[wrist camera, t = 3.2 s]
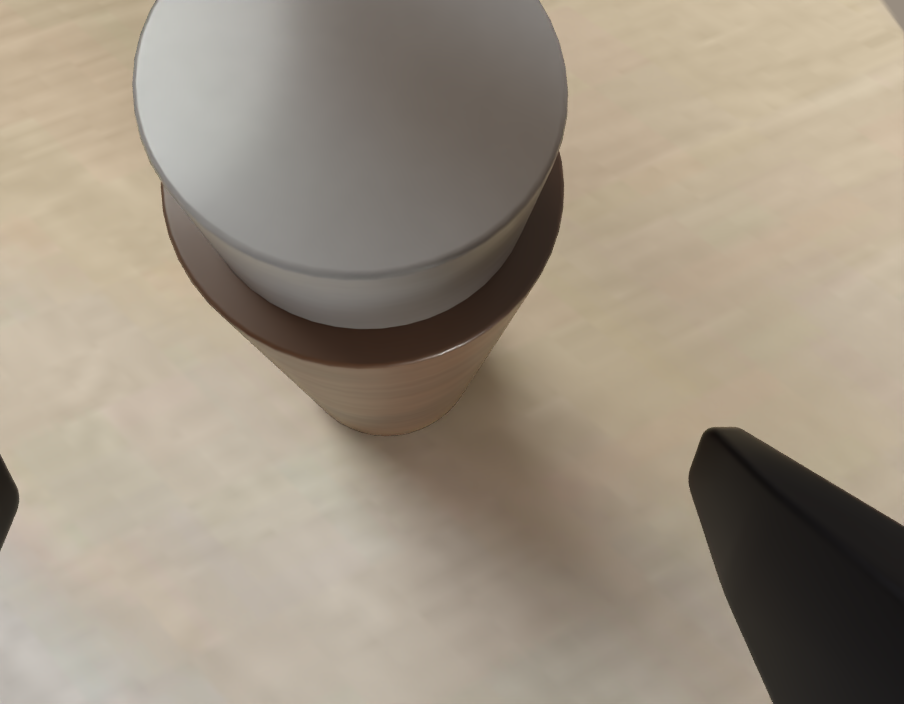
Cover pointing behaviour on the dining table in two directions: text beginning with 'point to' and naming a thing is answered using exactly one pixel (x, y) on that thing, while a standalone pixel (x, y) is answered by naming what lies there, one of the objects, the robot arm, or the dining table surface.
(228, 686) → the dining table surface
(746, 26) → the dining table surface
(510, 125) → the pepper mill
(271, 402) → the dining table surface
